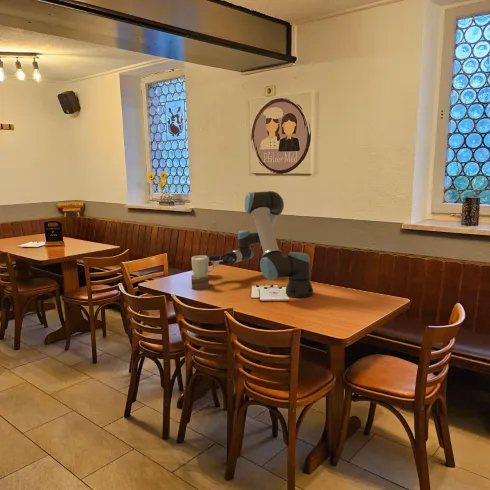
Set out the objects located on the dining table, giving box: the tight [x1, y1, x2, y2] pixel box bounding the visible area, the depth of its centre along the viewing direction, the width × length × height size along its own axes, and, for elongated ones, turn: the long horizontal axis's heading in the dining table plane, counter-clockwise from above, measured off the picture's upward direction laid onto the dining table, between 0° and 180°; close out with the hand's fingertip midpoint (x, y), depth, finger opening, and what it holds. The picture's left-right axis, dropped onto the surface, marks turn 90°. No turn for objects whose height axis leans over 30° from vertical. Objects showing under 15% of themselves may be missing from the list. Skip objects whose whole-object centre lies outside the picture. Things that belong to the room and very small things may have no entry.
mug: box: [191, 254, 215, 274], centre depth 287 cm, size 15×11×13 cm
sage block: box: [193, 258, 206, 278], centre depth 260 cm, size 5×5×11 cm
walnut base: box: [191, 273, 210, 290], centre depth 262 cm, size 10×10×6 cm
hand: (207, 262), depth 264 cm, fingers open, 13 cm apart
